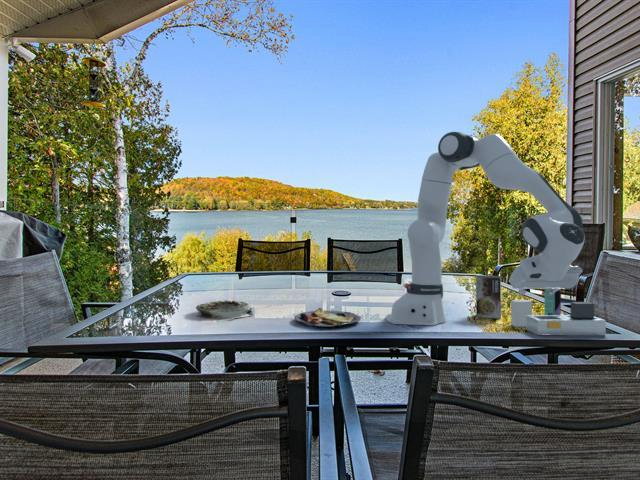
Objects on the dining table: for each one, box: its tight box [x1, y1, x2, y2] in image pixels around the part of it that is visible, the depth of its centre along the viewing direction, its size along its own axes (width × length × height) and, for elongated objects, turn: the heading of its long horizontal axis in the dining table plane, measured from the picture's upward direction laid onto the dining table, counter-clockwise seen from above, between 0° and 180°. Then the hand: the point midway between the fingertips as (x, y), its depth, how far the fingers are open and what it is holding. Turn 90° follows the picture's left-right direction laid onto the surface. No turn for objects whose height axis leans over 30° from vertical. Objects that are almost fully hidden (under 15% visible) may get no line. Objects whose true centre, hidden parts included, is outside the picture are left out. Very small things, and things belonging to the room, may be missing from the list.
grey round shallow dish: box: [195, 299, 254, 322], centre depth 176 cm, size 28×27×5 cm
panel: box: [510, 299, 533, 328], centre depth 152 cm, size 6×3×9 cm, turn 89°
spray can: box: [543, 288, 562, 315], centre depth 161 cm, size 6×6×20 cm
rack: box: [525, 301, 607, 336], centre depth 142 cm, size 22×8×10 cm, turn 89°
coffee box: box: [475, 274, 502, 320], centre depth 167 cm, size 9×6×16 cm
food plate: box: [293, 307, 362, 328], centre depth 161 cm, size 25×23×4 cm
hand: (535, 292), depth 142 cm, fingers open, 8 cm apart
